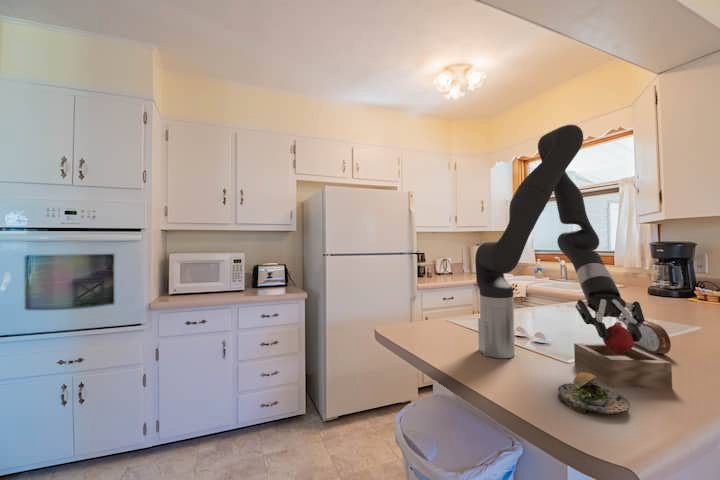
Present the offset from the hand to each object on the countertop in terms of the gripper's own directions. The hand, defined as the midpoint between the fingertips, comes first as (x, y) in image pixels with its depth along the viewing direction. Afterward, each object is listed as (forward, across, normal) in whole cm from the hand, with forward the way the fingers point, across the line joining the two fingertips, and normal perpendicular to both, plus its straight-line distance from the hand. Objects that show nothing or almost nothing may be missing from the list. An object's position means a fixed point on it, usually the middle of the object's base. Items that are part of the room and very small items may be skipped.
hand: (621, 339), depth 74 cm
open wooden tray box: (+6, 0, +8) cm, 10 cm away
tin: (-11, +18, +25) cm, 32 cm away
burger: (+17, -12, -4) cm, 22 cm away
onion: (+2, 0, +4) cm, 5 cm away
